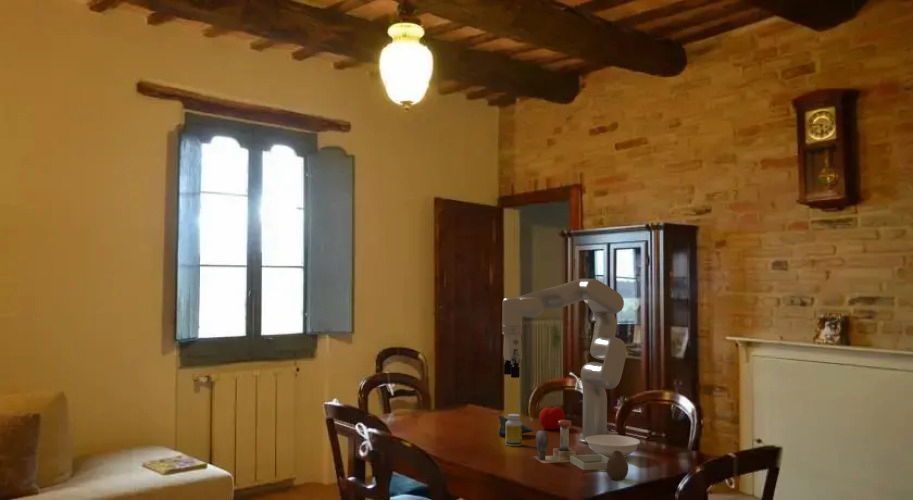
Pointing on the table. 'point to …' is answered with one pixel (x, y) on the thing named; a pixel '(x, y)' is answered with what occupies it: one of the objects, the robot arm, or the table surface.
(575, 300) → the robot arm
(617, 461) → the vase
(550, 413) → the tomato
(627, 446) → the bowl
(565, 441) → the lock pin
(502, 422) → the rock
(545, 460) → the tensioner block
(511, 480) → the table surface
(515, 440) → the pill bottle
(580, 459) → the tray
